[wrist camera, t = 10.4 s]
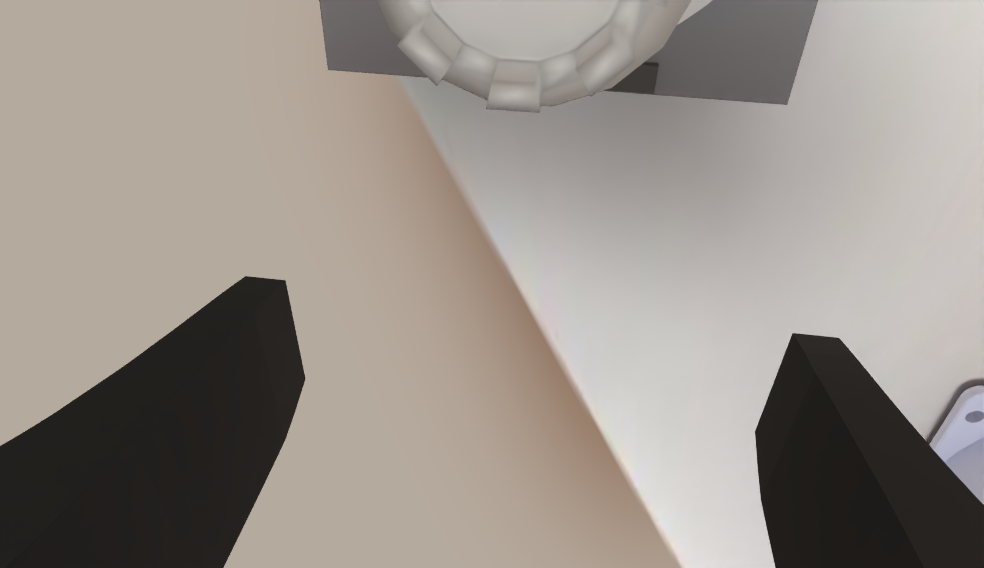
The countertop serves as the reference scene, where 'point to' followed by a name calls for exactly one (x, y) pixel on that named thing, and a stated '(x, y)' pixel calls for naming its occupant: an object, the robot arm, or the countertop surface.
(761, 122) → the countertop surface
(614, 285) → the countertop surface
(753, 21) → the kitchen scale
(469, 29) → the rook chess piece
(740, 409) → the countertop surface
